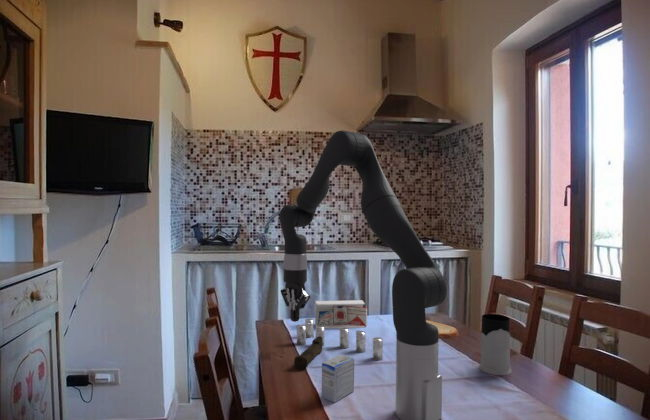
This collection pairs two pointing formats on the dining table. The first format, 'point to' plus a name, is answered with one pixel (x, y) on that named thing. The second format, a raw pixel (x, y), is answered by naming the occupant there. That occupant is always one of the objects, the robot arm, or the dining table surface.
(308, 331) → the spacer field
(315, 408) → the dining table surface
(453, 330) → the bread slice
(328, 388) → the medicine box
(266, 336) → the dining table surface
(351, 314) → the white printed carton
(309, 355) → the dark brown rod
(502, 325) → the glass holder
